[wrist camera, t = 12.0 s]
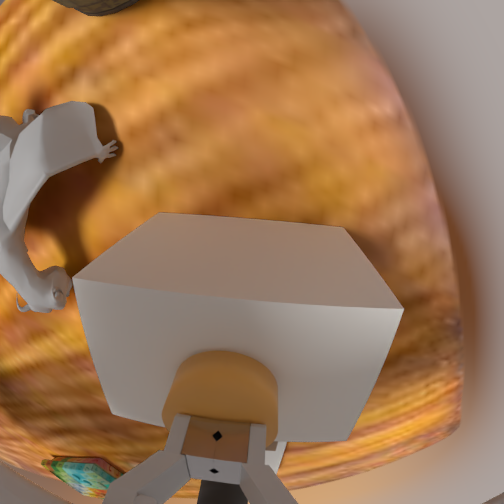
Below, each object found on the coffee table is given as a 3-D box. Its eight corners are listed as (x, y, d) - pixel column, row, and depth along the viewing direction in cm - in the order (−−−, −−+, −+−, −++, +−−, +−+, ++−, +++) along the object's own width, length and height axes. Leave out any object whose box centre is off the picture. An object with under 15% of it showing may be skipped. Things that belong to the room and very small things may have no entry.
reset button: (179, 411, 11) (169, 446, 10) (170, 343, 10) (153, 381, 8) (271, 422, 11) (270, 459, 9) (284, 355, 10) (286, 398, 8)
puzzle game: (143, 507, 32) (82, 498, 37) (149, 487, 36) (89, 482, 41) (89, 474, 29) (39, 467, 33) (99, 452, 33) (47, 451, 38)
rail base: (186, 456, 30) (170, 522, 20) (159, 212, 19) (71, 277, 10) (289, 466, 29) (290, 534, 20) (355, 228, 19) (423, 309, 9)
